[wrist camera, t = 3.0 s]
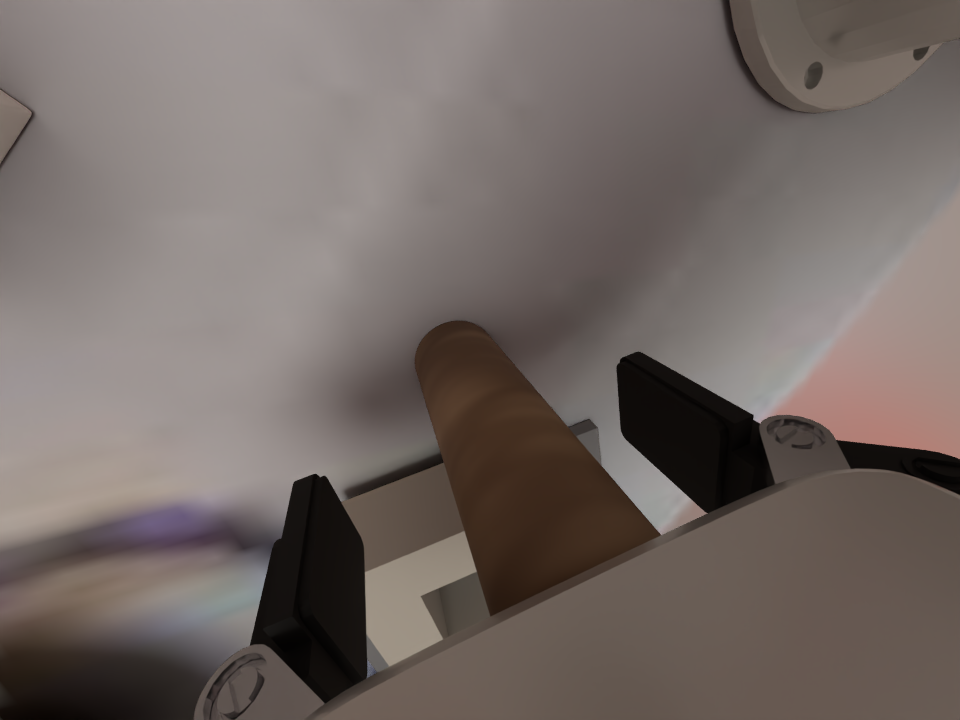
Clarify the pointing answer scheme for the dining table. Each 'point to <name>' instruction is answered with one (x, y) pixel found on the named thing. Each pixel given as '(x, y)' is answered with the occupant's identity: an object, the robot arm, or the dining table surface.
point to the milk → (11, 122)
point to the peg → (518, 472)
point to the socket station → (421, 562)
